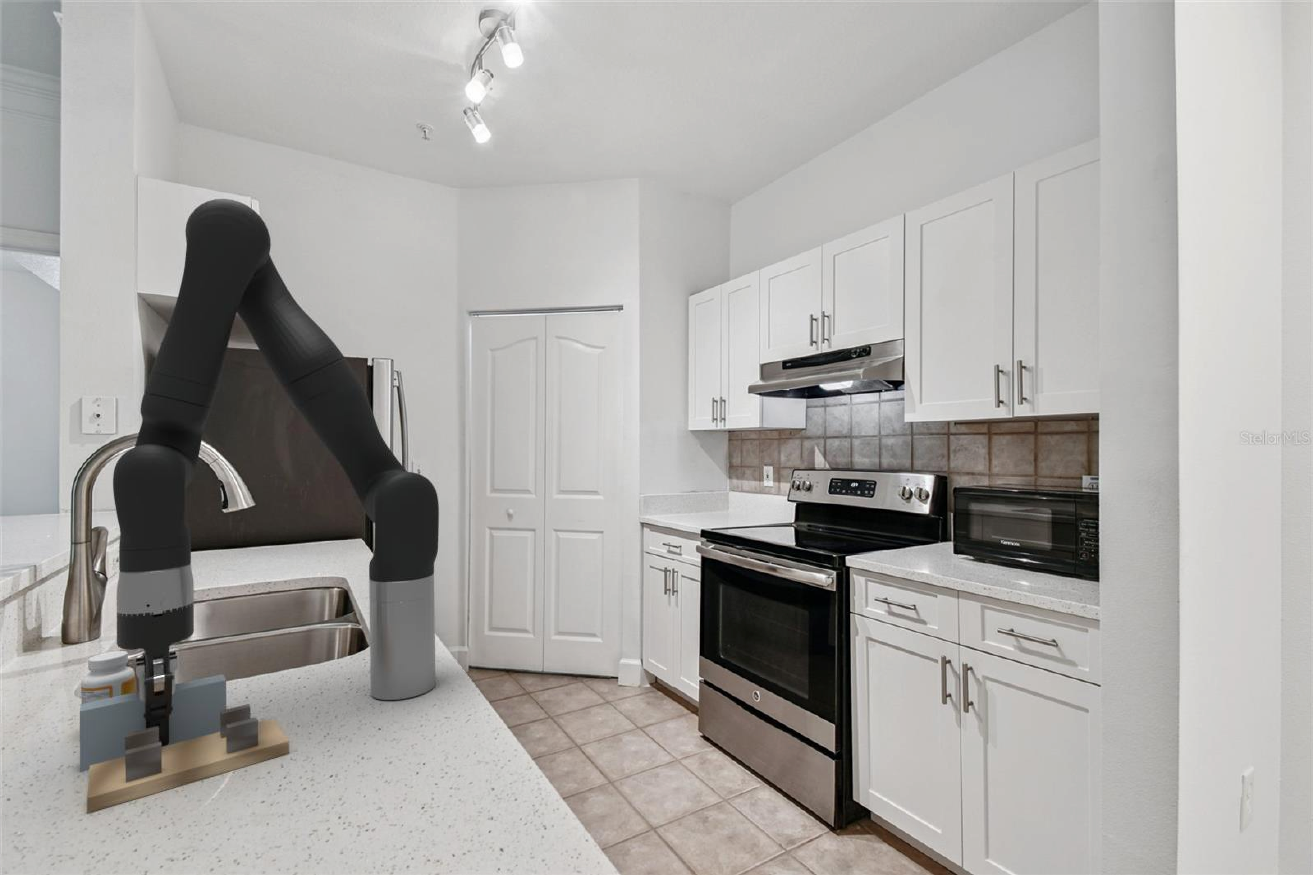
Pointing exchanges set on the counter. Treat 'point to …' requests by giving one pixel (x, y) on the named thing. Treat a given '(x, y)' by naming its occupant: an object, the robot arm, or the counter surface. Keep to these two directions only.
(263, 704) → the counter surface
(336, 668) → the counter surface
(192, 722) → the blue grey rectangular block
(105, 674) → the supplement bottle
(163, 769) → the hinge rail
